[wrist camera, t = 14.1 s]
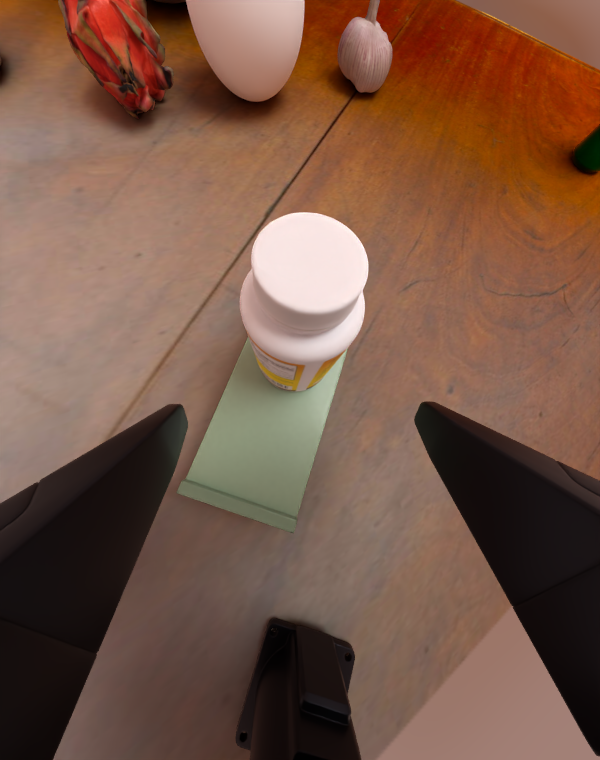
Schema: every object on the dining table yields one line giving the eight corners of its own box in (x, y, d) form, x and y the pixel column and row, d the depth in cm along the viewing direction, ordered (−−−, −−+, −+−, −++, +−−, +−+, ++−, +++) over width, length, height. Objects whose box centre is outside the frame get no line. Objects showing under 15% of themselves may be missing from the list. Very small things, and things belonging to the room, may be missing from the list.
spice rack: (290, 512, 17) (295, 545, 12) (197, 480, 17) (163, 500, 12) (344, 340, 21) (363, 313, 16) (268, 313, 21) (264, 277, 16)
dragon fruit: (148, 83, 28) (169, 164, 28) (53, 17, 22) (77, 118, 22) (161, -14, 22) (189, 87, 22) (36, -140, 16) (69, -6, 16)
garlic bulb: (334, 61, 31) (352, -63, 23) (382, 71, 31) (416, -47, 24) (333, 95, 29) (352, -26, 21) (384, 105, 30) (421, -10, 22)
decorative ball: (296, 70, 30) (307, -162, 18) (301, 131, 27) (317, -94, 15) (208, 59, 28) (158, -196, 17) (204, 122, 26) (141, -129, 14)
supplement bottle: (323, 325, 18) (379, 194, 8) (331, 391, 16) (408, 334, 7) (256, 327, 17) (224, 188, 7) (259, 395, 16) (224, 340, 6)
